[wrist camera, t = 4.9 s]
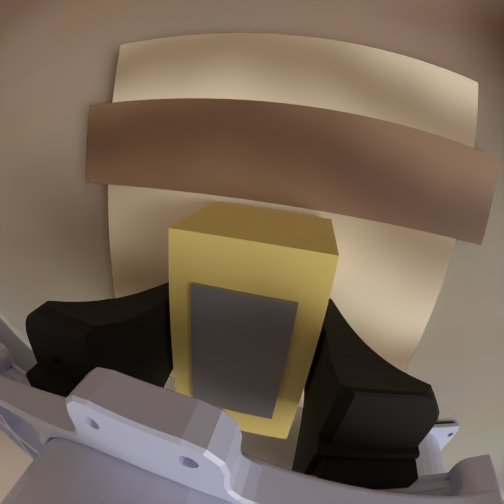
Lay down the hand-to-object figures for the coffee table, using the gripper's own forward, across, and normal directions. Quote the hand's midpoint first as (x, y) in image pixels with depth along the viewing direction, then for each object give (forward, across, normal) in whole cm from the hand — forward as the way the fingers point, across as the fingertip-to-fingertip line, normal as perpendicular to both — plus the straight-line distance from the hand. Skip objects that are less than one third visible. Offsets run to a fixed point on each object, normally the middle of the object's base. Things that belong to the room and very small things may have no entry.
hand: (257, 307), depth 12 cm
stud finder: (+1, 0, 0) cm, 1 cm away
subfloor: (+2, 0, -2) cm, 3 cm away
